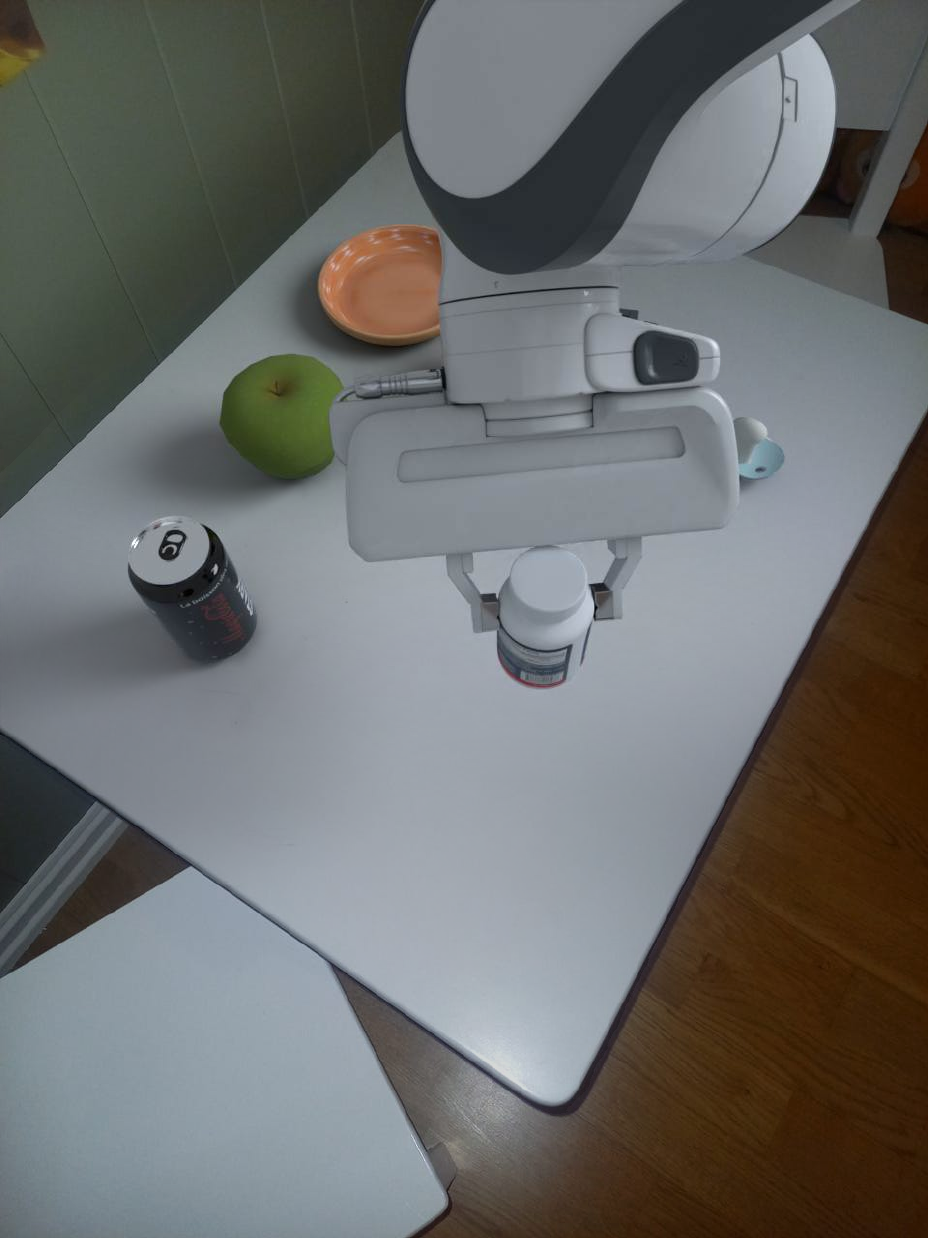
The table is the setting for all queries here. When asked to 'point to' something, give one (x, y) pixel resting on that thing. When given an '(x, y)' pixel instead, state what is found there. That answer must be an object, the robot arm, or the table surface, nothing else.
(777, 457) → the pacifier
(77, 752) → the table surface
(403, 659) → the table surface
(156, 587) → the beverage can
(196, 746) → the table surface
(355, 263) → the saucer
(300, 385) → the apple
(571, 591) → the pill bottle
